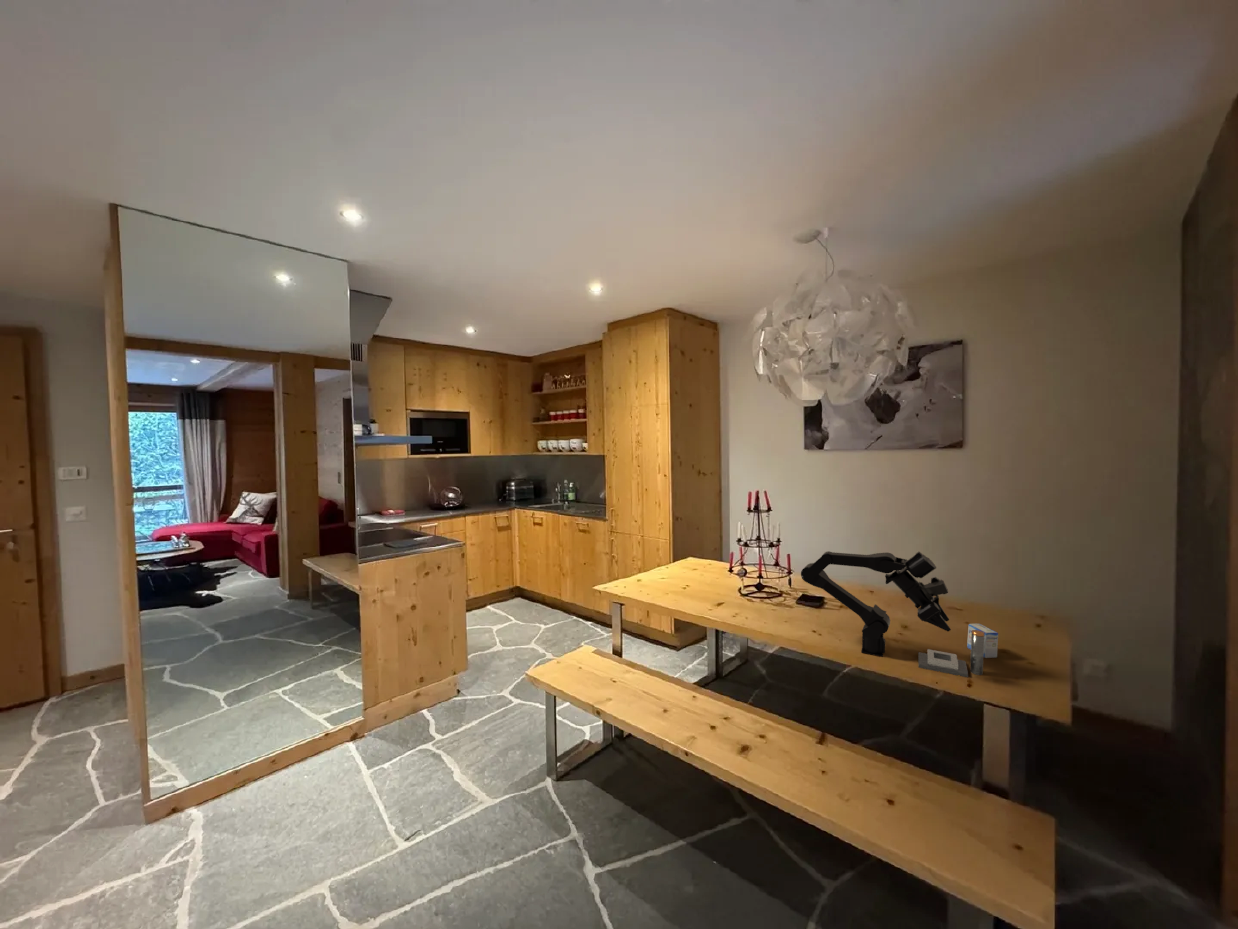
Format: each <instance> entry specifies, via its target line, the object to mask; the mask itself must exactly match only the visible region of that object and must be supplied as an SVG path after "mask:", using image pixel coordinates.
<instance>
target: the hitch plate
mask: <svg viewBox="0 0 1238 929" xmlns="http://www.w3.org/2000/svg"><path fill="white" fill-rule="evenodd" d="M926 652H927V653H926ZM926 652H921V651H920V652H918V658H917V659H918V661H917V662H918V663H917V664H918V665H917V667H918V668H921V669H924V670H928V671H929V670H930V671H934V672H939V671H940V672H939V673H944V674H948V673H949V675H955V676H958V675H960V676H959V677H964V678H969V671H968V666H967V663H966V660H962V659H958V656H957V654H955V653H950V652H946V651H940V650H933V649H930V648H927V651H926Z"/></svg>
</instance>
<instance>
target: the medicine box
mask: <svg viewBox="0 0 1238 929" xmlns="http://www.w3.org/2000/svg"><path fill="white" fill-rule="evenodd" d="M967 627H968V629H967V642H966V644H967V646H966V647H967V649H968V650H970V651H971V637H972V630H979V631H982V632H984V655H983V659H984V658H985V659H991V658H992V659H993V658H994V659H995V658H998V646H999V645H998V643H999V642H998V641H999V632H997V631H995V630H993V629H991V628H989V627H987V626H986V625H983V624H981V623H969V624H968V626H967Z"/></svg>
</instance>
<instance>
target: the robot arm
mask: <svg viewBox="0 0 1238 929" xmlns="http://www.w3.org/2000/svg"><path fill="white" fill-rule="evenodd" d="M829 565H836V566H847V567H855V568H856V567H858V568H866V569H870V570H871V571H872V570H873V571H875V572H878V573H883V574H885V575H884V577H885V584H886V585H888V584H889V583H891V582H892V583H894V585H896V586H897V588H898V589H899V590H901V591H902V593H903V594H904V596H905V597H906V599H909V600H910V601H911V602H912V603H913V604H914V607H915V608H916V609H917V617H918V618H919V620H921V621H922V622H924V623H928V624H930V625H933V626H935V627H938V628H939V629H941V630H944V631H945V632H951V630H952V629H951V627H950V626H949V624H948V623H947V622H948V621H950V617H949V616H948V615H947V614H946V612H945V611H944V609H943V607H942V606H941V604H940V597H939V595H947V594H948V593H949V590H948V588H947V585H946V583H945V581H944V580H942V579H939V578H938V577H936V576H934V577H931V578H930V582H928V583H926V584H924V583H923V582H921V581H918V580H917V579H918V578H919V579H923V578H925V576H928V575H929V574H930V573H931V572H933V571H934V570H936V569H937V566H936V564H935V563H934V562H933V561H932V560H931V559H930V558H929V557H927V556H926V555H925V554H923V553H922V552H921V551H918V552H915V554H914V555H913V556H911V557H910V558H909V559H906V558H901V557H897V556H895V555H894V554H893V553H891V552H879V553H878V552H877V553H876V552H875V553H871V554H859V553H858V554H857V553H846V552H845V553H844V552H835V551H834V552H833V551H824V553H823V554H822V555H821V557H819V558H818V559H817V560H816V561H815V562H811V563H808V564H807V565H806V566H804V567H803V568H802V569H801V572H800V576H801V579H802V581H803V582H805V583H807V584H809V585H811V586H812V587H815V588H819V589H821V590H823V591H824V592H826V593H827V594H829V595H830V596H832V597H833V598H834V599H835V600H837V601H838V602H840V603H841V604H842V605H844V606H845V607H846V608H847V609H849V610H850V611H851V612H853V613H855V614H856V615H857V616H859V617H860V619H861V621H862V622H863V623H864V625H863V627H862V629H861V635H862V637H861V639H862V640H861V644H862V645H861V653H863V654H868V655H873V656H878V657H883V656H884V654H886V638H884V634H886V633H887V631H888V630H889V628H890V625H891V619H890V616H889V615H888V613H887V611H886V610H884V609H882V608H881V607H880V606H878V605H877V604H875V603H874V605H873V606H870V605H868V604H866V603H864V602H863V601H861V600H860V599H859V598H858V597H856V596H855V595H853V594H852V593H850V592H849V591H848V590H846V589H845V588H844V587H842V586H841V585H840V584H838V583H836V582H835V581H834V580H832V579H831V578H830V577H829V575H828V574H827V573H826V571H825V569H826V568H827V567H828V566H829Z"/></svg>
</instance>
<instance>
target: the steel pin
mask: <svg viewBox="0 0 1238 929" xmlns="http://www.w3.org/2000/svg"><path fill="white" fill-rule="evenodd" d="M983 655H984V632H982V631H979V630H972V637H971V650H970V662H969V664H970V665H969V666H970V668H969V673H971V674H974V675H977V676H982V675H983V672H984V657H983Z"/></svg>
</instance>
